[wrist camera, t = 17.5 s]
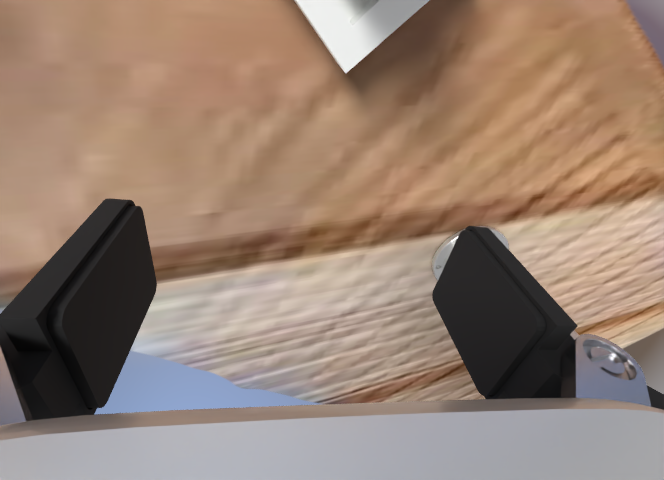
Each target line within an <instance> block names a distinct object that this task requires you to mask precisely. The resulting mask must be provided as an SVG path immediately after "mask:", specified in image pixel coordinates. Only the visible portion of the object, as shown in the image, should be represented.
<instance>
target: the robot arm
mask: <svg viewBox="0 0 664 480" xmlns="http://www.w3.org/2000/svg"><path fill="white" fill-rule="evenodd" d="M432 270H433V274H434V275H435V277H436V279H437V280H438V282H437V284H436V286H435V288H434V290H433V301H434V304H435V306H436V308H437V310H438V312H439V314H440V316H441V318H442V320H443V322H444V324H445V326H446V328H447V330H448V332H449V334H450V336H451V338H452V340H453V342H454V344H455V346H456V348H457V350H458V352H459V354H460V356H461V358H462V360H463V362H464V364H465V366H466V368H467V370H468V372H469V374H470V376H471V378H472V380H473V382H474V384H475V386H476V388H477V390H478V391H479V393H480V394H481V395H484V397H485V398H486V399H483V400H447V401H415V402H384V403H355V404H326V405H298V406H273V407H246V408H220V409H196V410H171V411H154V412H135V413H116V414H98V415H94V413H95V411H96V409H97V408H102V407H104V406H105V404H106V403H107V401H108V399H109V397H110V394H111V392H112V390H113V388H114V385H115V383H116V381H117V378H118V376H119V374H120V372H121V369H122V367H123V365H124V363H125V360H126V358H127V356H128V354H129V351H130V349H131V347H132V345H133V342H134V340H135V338H136V336H137V333H138V331H139V329H140V327H141V324H142V322H143V320H144V318H145V315H146V313H147V311H148V309H149V306H150V304H151V302H152V300H153V297H154V295H155V292H156V286H157V283H156V277H155V271H154V266H153V261H152V256H151V251H150V246H149V241H148V235H147V230H146V225H145V220H144V215H143V211H142V208H141V207H140V206H135V204H134V202H133V201H132V200H121V199H105V200H104V201H103V202H102V203H101V204H100V205H99V206H98V207H97V209H96V210H95V211H94V212H93V213H92V214H91V215H90V216H89V217H88V218H87V220H86V221H85V222H84V223H83V224H82V225H81V226H80V227H79V228H78V229H77V231H76V232H75V233H74V234H73V235H72V236H71V237H70V238H69V239H68V240H67V241H66V243H65V244H64V245H63V246H62V247H61V248H60V249H59V250H58V251H57V252H56V253H55V255H54V256H53V257H52V258H51V259H50V260H49V261H48V262H47V263H46V264H45V265H44V267H43V268H42V269H41V270H40V271H39V272H38V273H37V274H36V275H35V276H34V278H33V279H32V280H31V281H30V282H29V283H28V284H27V285H26V286H25V287H24V289H23V290H22V291H21V292H20V293H19V294H18V295H17V296H16V297H15V298H14V300H13V301H12V302H11V303H10V304H9V305H8V306H7V307H6V308H5V309H4V310H3V312H2V313H1V314H0V480H664V394H662V393H660V392H658V391H656V390H654V389H652V388H651V387H649V386H647V385H646V380H645V376H644V373H643V371H642V369H641V367H640V366H639V365H638V363H637V362H636V361H635V360H634V359H633V358H632V357H631V356H630V355H629V354H628V353H627V352H626V351H624V350H623V349H622V348H620V347H619V346H617V345H616V344H614V343H612V342H610V341H609V340H607V339H604V338H602V337H599V336H596V335H591V334H582V335H580V336H579V335H578V334H577V333H576V332H575V331H574V330H575V328H576V327H577V325H576V324H575V322H574V321H573V320H572V319H571V318H570V317H569V316H568V315H567V314H566V313H565V311H564V310H563V309H562V308H561V307H560V306H559V305H558V304H557V303H556V302H555V300H554V299H553V298H552V297H551V296H550V295H549V294H548V293H547V292H546V291H545V289H544V288H543V287H542V286H541V285H540V284H539V283H538V282H537V281H536V280H535V278H534V277H533V276H532V275H531V274H530V273H529V272H528V271H527V270H526V269H525V267H524V266H523V265H522V264H521V263H520V262H519V261H518V260H517V259H516V257H515V256H514V255H513V254H512V253H511V252H510V251H509V244H508V241H507V239H506V238H505V236H504V235H503V234H502V233H501V232H500V231H499V230H497V229H495V228H492V227H489V226H469V227H467V228H466V229H464V230H462V231H459V232H457V233H456V234H454V235H452V236H451V237H449V238H448V239H447V240H446V241H445V242H444V243H443V244H442V245H441V246H440V247H439V248H438V250H437V251H436V253H435V255H434V257H433V261H432Z"/></svg>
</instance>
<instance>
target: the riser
mask: <svg viewBox="0 0 664 480" xmlns="http://www.w3.org/2000/svg"><path fill="white" fill-rule="evenodd" d="M294 1H295V3H296V4H297V5H298V7H299V8H300V10H301V11H302V13H303V14H304V16H305V17H306V19H307V20H308V21H309V23H310V24H311V26H312V27H313V29H314V30H315V32H316V33H317V35H318V36H319V38H320V39H321V40H322V42H323V43H324V45H325V46H326V48H327V49H328V51H329V52H330V54H331V55H332V56H333V58H334V59H335V61H336V62H337V64H338V65H339V66H340V67H341V69H342V70H343V71H344V72H345V73H347V72H348V71H349V70H350V69H352V68H353V67H354V66H355V65H356V64H357V63H358V62H360V61H361V60H362V59H363V58H364V57H365V56H366V55H368V54H369V53H370V52H371V51H372V50H373V49H374V48H376V47H377V46H378V45H379V44H380V43H381V42H382V41H384V40H385V39H386V38H387V37H388V36H389V35H390V34H392V33H393V32H394V31H395V30H396V29H397V28H398V27H400V26H401V25H402V24H403V23H404V22H405V21H406V20H408V19H409V18H410V17H411V16H412V15H413V14H414V13H416V12H417V11H418V10H419V9H420V8H421V7H422V6H424V5H425V4H426V3H427V2H428V1H429V0H294Z"/></svg>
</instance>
